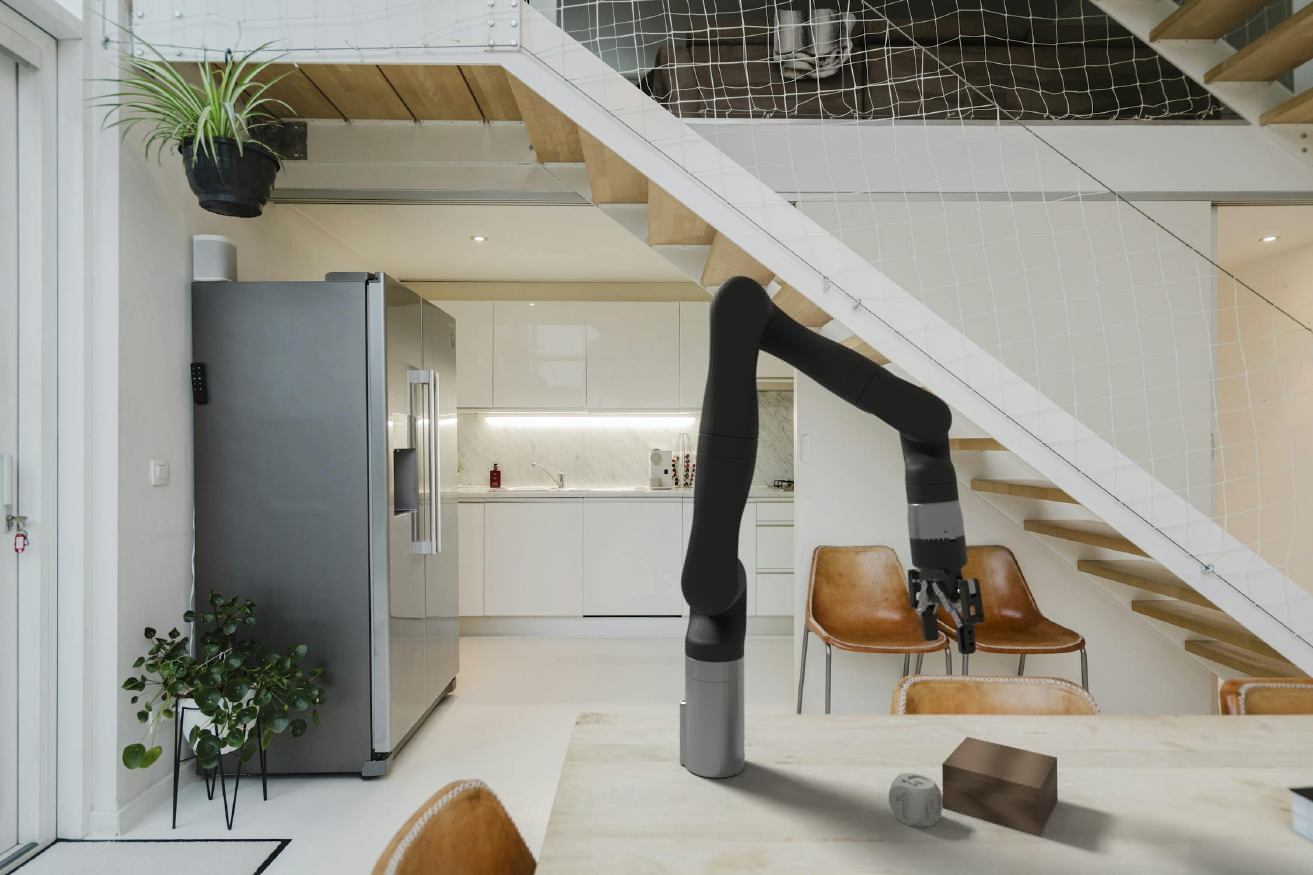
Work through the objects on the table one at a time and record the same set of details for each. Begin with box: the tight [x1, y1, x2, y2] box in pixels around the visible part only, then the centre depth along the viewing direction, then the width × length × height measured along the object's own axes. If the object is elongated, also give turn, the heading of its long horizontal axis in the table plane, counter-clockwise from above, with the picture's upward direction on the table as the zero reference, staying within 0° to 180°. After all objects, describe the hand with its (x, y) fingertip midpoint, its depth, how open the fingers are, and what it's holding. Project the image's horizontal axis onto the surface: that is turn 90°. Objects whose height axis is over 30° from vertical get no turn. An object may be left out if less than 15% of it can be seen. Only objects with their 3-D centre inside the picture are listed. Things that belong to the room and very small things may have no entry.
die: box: [888, 772, 943, 829], centre depth 97 cm, size 5×5×5 cm
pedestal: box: [941, 736, 1059, 837], centre depth 101 cm, size 12×12×6 cm
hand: (948, 646), depth 104 cm, fingers open, 8 cm apart
